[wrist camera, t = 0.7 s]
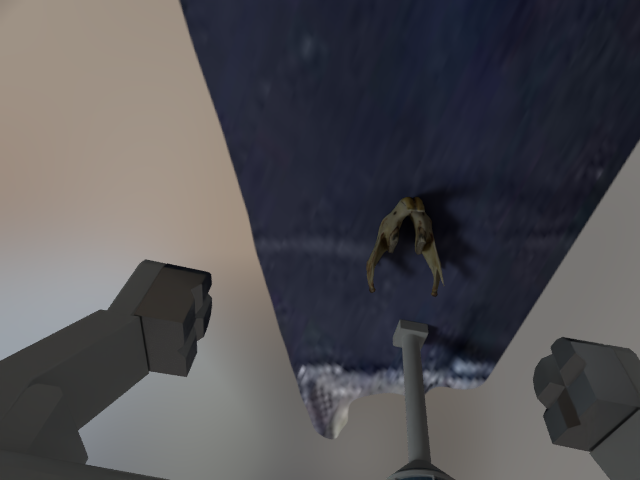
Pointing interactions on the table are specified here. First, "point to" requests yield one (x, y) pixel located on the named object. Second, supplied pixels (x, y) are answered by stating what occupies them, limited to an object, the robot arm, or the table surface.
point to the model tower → (415, 405)
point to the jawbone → (391, 235)
